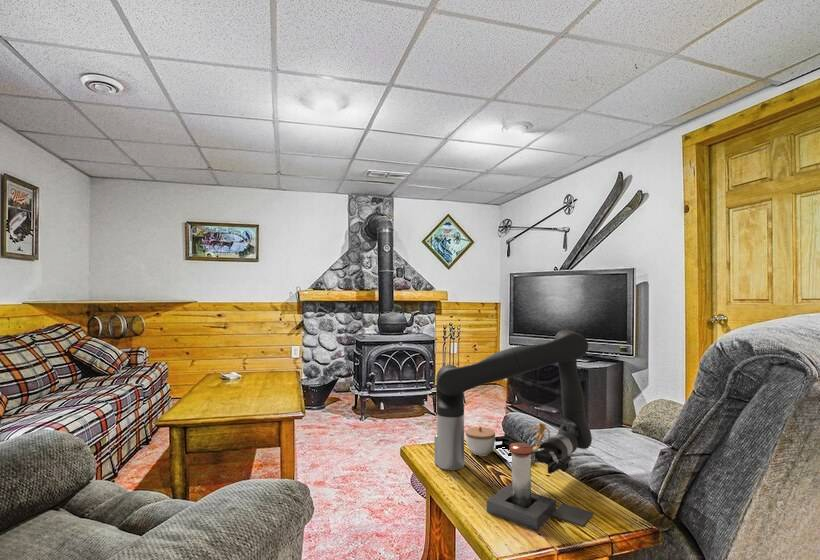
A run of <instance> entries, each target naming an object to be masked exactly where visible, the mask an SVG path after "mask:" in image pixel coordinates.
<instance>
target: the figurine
mask: <svg viewBox="0 0 820 560" xmlns="http://www.w3.org/2000/svg"><path fill="white" fill-rule="evenodd" d="M536 428H538V432H537V433H536V435H535V437H534V439H535V442H536V444H535V445H534V446H532V447H533V450H535V449H539V447H540V445H541V444H542V443H543V441H542V440H543V438H544V436H545V435H544V432H545V430H546V431H547V436H548V437H547V439H549V438H550V437H551V436H550V433H551V432H550V430H549V428H548V427H547V425H546V423H541V422H539V424H537V425H535V426H534V427H532V429H531V431H530V435H531V433H532V432H533V431H534V430H535V429H536ZM539 443H540V444H539ZM534 458H535V456H534Z"/></svg>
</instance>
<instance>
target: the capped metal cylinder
mask: <svg viewBox="0 0 820 560" xmlns="http://www.w3.org/2000/svg"><path fill="white" fill-rule="evenodd" d="M533 447H534V446H533V445H531V444H529V443H526V442H523V443H512V444H510V452H512V462H511V486H512V504H515V505H518V506H520V507H523V508H526V509H528V508H529V507H530V506H531V492H532V462H531V454H532V453H533Z"/></svg>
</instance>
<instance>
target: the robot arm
mask: <svg viewBox="0 0 820 560" xmlns="http://www.w3.org/2000/svg"><path fill="white" fill-rule="evenodd" d="M588 351H589V342H588V340H587V339H586V337H584V336H583V335H582V334H581V333H578V332H576V331H574V330H571V329H562V330H560V331H558V332H557V333H556V334H555V336H554V338H553V340H551V341H548V342H545V343H540V344H530V345H529V344H528V345H520V346H513V347H510V348H507V349H503V350H500V351H497V352H495V353H493V354H491V355H488V356H487V357H485V358H483V359H481V360H480V361H478V362H476V363H472V364H468V365H464V366H456V365H455V364H446V365H445V364H444V366H441V367H440V368H439V370H437V374H436V381H435V382H436V389H435V390H436V392H435V393H436V434H435V435H434V438H433V439H434V443H433V444H434V465H436V466H437V467H438V468H439V469H442V470H446V471H447V470H448V471H457V470H461V469H463V468H464V467H465V404H464V401H465V400H464V392H467V391H470V390H471V389H474V388H476V387H479V386H481V385H482V386H483V385H486V384H490V383H495V382H499V381H503V380H507V379H510V378H513V377H517V376H521V375H524V374H527V373H530V372H533V371H536V370H539V369H542V368H545V367H548V366H552V365H554V364H557V365H558V372H559V380H560V390H561V409H562V416H563V417H564V418H565V419H566V420H569V421H570V422H572V423H574V424H570V423H565V424H562V425H560V426H559V428H558V432H557V434H555V435H553V436H550V438H549V439H548V438H547V439H546V440H544V441H542V444H541V445H540V444H539V445H540V447H539V449H535V450H533V453H532V454H531V464H537V463H539V464H540V463H541V464H546V465H547V474H553V473H555V472H557V471H560V470H561V472H563V473H565V472H567V471H568V470H569V468H571V466H572V457H571V455H572V454H573V453H575V451H576V450H577V449H582V450H587V449H588V448H590V446H591V445H592V440H593V437H592V432H591V429H590V426H589V424H588V420H587V418H586V413H585V401H584V400H585V399H584V391H583V389H582V387H583V386H582V384H581V380H580V378H579V377H580V376H579V371H578V365H577V363H578V360H579V359H581V358H583V357H584V356H585V355H586V354H587V352H588ZM534 456H535V457H534Z"/></svg>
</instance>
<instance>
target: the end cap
mask: <svg viewBox="0 0 820 560" xmlns="http://www.w3.org/2000/svg"><path fill="white" fill-rule="evenodd" d="M497 442H498V443H499V442H501V444H494V449H495V450H496V449H498V448H502V447H505V448H502V449H508V450H510V444H512V443H524V442H522V441H521V440H519V439H518V438H516V437H514V436H513V435H510V434H509V433H506V432H505V433H503V435H502V436H495V443H497ZM508 456H512V453H509V454H508Z"/></svg>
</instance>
